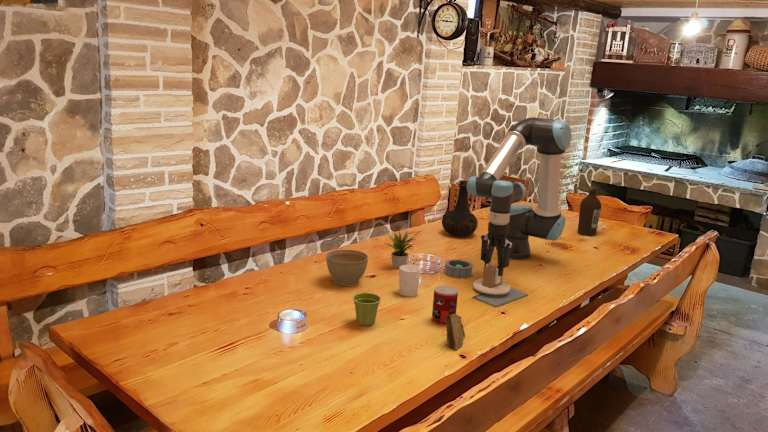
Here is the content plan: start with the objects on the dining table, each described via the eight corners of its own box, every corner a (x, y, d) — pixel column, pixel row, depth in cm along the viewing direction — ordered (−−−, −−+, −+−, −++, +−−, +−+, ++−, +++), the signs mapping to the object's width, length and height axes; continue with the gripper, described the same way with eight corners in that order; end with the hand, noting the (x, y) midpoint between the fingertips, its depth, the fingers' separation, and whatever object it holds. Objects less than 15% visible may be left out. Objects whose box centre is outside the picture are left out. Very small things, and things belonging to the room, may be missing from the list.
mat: (486, 279, 252) (486, 278, 252) (527, 295, 238) (528, 293, 238) (454, 290, 239) (454, 288, 239) (496, 307, 225) (496, 305, 225)
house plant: (413, 276, 250) (416, 238, 246) (379, 272, 253) (382, 234, 249) (418, 265, 264) (421, 228, 260) (386, 261, 266) (389, 225, 262)
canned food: (430, 314, 215) (432, 285, 212) (452, 315, 216) (455, 285, 213) (433, 324, 207) (436, 293, 205) (457, 324, 208) (460, 294, 205)
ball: (457, 271, 257) (458, 262, 256) (464, 273, 255) (465, 265, 254) (452, 272, 255) (452, 264, 254) (458, 275, 252) (459, 266, 251)
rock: (455, 324, 203) (433, 326, 197) (471, 310, 198) (448, 312, 192) (470, 353, 198) (447, 357, 192) (486, 339, 193) (463, 343, 186)
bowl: (456, 269, 263) (457, 257, 261) (477, 276, 255) (478, 265, 254) (439, 274, 255) (440, 262, 254) (459, 282, 248) (460, 270, 246)
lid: (488, 278, 247) (490, 259, 245) (517, 289, 238) (519, 269, 236) (465, 285, 238) (467, 265, 236) (494, 297, 228) (497, 276, 226)
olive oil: (572, 232, 329) (578, 186, 323) (582, 229, 337) (589, 184, 330) (590, 237, 322) (597, 190, 316) (600, 234, 329) (607, 188, 323)
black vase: (441, 228, 323) (446, 175, 316) (476, 231, 321) (481, 178, 313) (439, 238, 306) (444, 182, 298) (476, 241, 303) (482, 185, 296)
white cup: (416, 298, 228) (418, 272, 226) (395, 295, 230) (397, 270, 227) (420, 291, 236) (422, 266, 233) (399, 288, 237) (401, 263, 235)
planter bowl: (372, 279, 245) (374, 252, 242) (357, 292, 230) (359, 265, 228) (335, 272, 250) (336, 246, 247) (318, 285, 235) (319, 258, 233)
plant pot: (346, 324, 203) (347, 300, 201) (358, 314, 212) (359, 290, 210) (373, 330, 200) (374, 305, 198) (383, 319, 209) (385, 295, 206)
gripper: (474, 218, 235) (468, 276, 241) (511, 229, 223) (504, 290, 229) (486, 215, 240) (480, 273, 246) (523, 226, 228) (516, 286, 234)
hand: (492, 281), depth 237 cm, fingers closed on lid, 4 cm apart
